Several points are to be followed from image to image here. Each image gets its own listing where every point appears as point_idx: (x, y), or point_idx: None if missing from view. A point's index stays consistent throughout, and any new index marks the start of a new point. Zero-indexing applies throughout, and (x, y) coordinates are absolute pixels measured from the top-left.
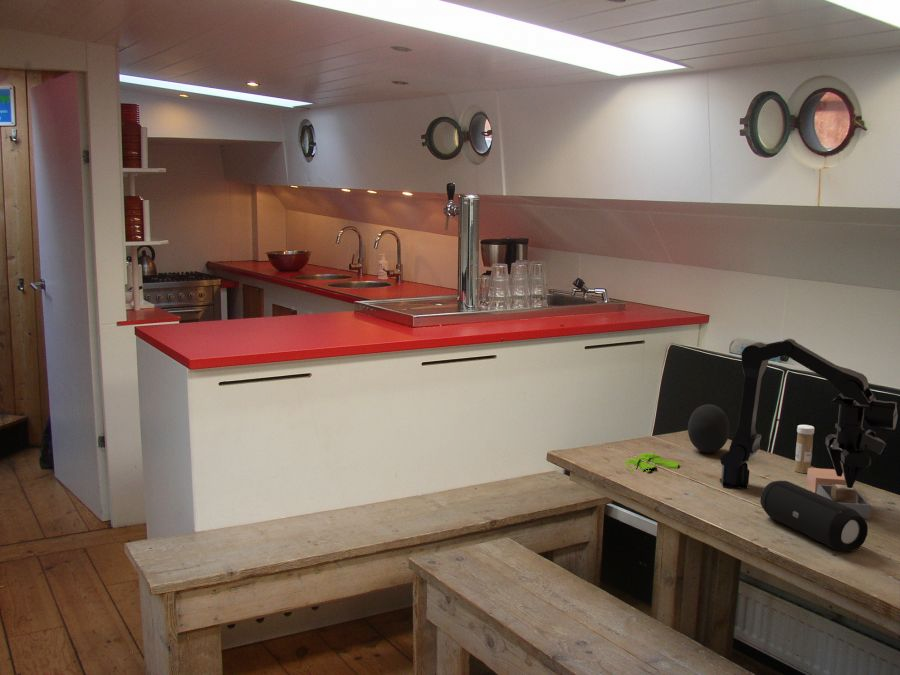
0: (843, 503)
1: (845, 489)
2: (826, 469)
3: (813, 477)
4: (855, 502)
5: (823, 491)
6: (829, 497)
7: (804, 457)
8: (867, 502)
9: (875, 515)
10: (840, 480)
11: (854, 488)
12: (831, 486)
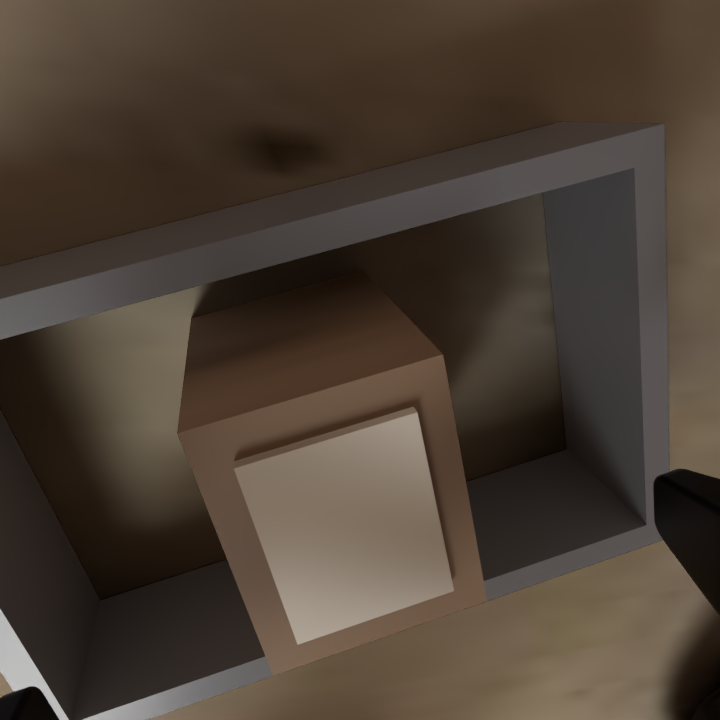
0: (666, 441)
1: (449, 503)
2: None
3: None
4: (390, 300)
5: None
6: (513, 580)
7: None
8: (561, 169)
9: (421, 42)
10: None
11: (340, 392)
12: (11, 621)
